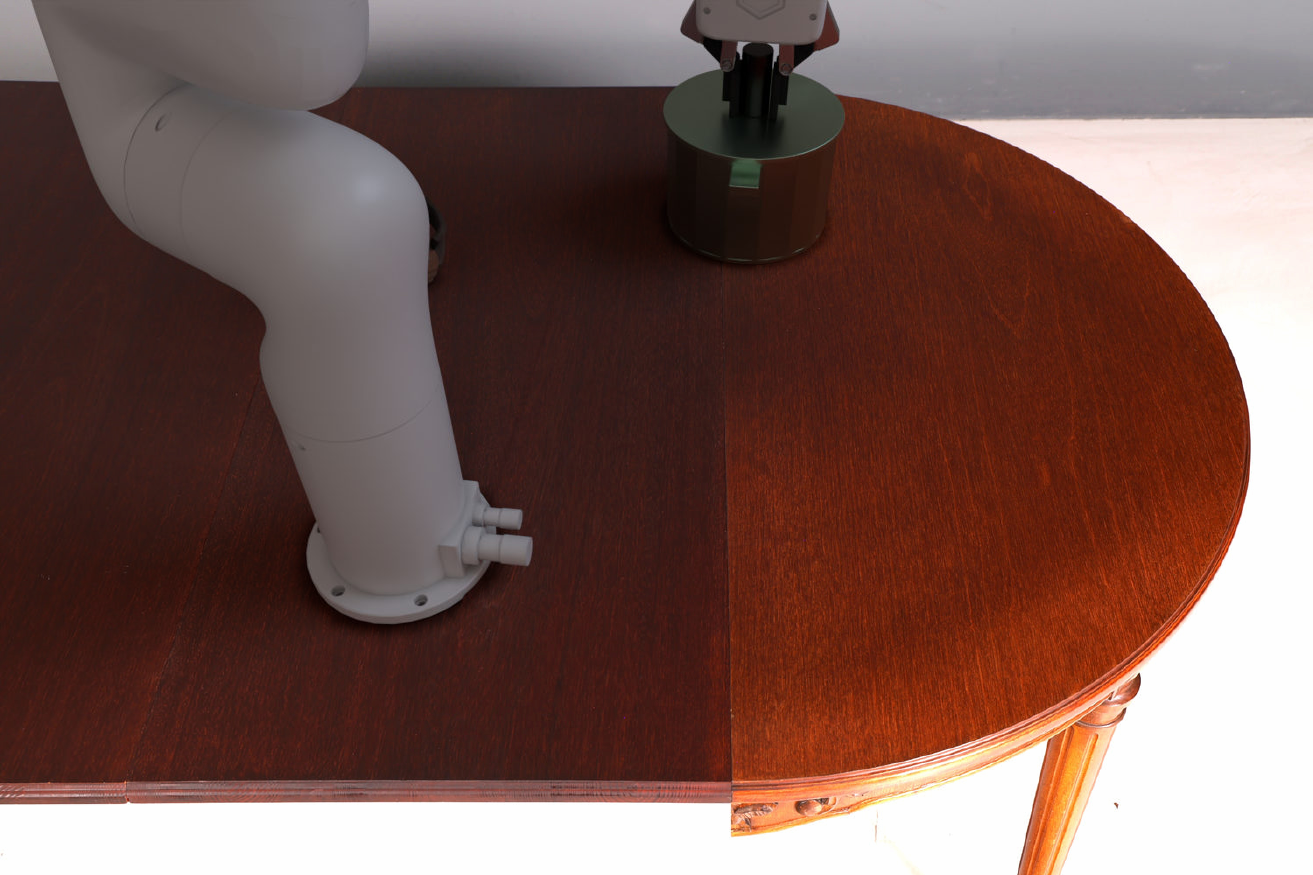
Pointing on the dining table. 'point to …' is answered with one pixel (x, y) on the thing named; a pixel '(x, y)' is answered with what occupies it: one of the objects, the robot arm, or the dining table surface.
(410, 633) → the dining table surface
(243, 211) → the robot arm
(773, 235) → the pot
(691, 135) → the lid
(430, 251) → the pottery mug
